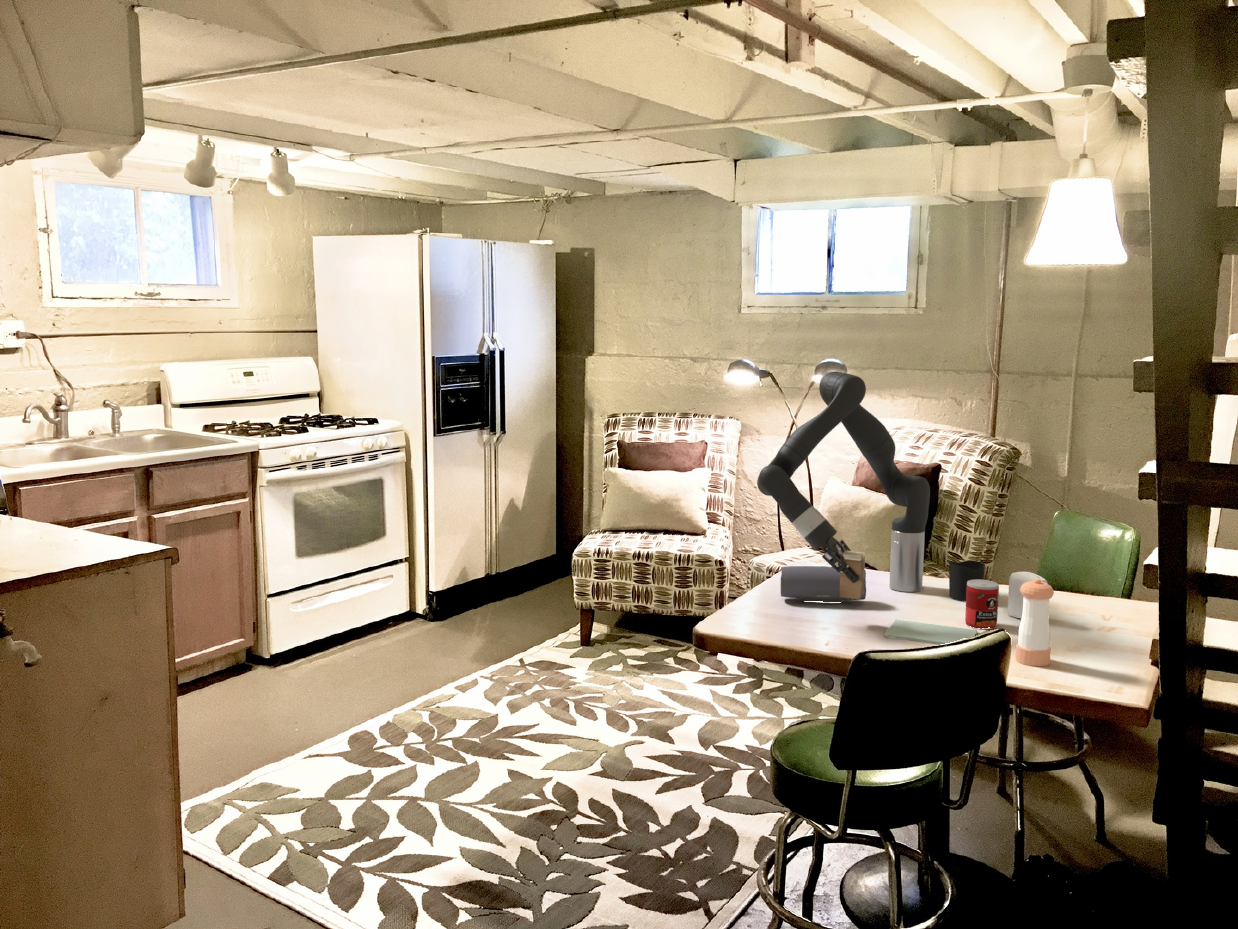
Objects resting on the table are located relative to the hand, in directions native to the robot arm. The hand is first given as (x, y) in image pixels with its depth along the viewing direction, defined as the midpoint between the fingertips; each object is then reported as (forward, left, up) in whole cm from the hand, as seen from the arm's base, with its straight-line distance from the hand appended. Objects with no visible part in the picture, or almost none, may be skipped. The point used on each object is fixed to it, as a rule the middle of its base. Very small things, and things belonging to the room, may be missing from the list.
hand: (859, 578), depth 251 cm
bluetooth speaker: (-17, -14, -12) cm, 25 cm away
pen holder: (-39, +21, -12) cm, 46 cm away
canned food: (-14, +28, -12) cm, 34 cm away
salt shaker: (+10, +42, -12) cm, 45 cm away
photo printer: (-25, +38, -12) cm, 47 cm away
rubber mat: (0, +18, -12) cm, 22 cm away
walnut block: (0, -2, -5) cm, 5 cm away
